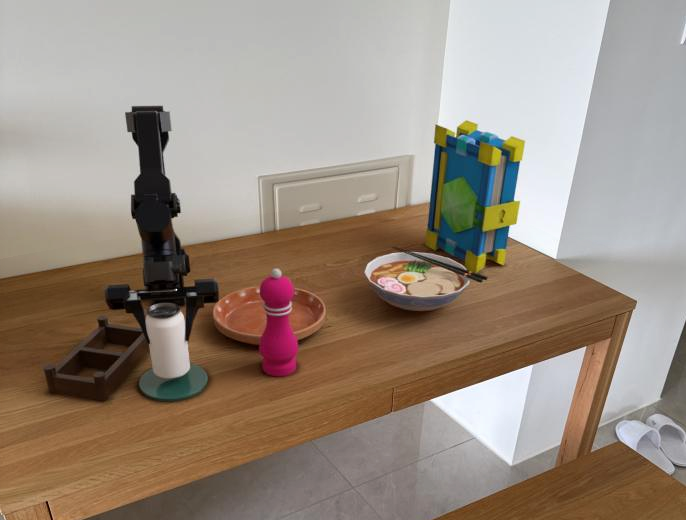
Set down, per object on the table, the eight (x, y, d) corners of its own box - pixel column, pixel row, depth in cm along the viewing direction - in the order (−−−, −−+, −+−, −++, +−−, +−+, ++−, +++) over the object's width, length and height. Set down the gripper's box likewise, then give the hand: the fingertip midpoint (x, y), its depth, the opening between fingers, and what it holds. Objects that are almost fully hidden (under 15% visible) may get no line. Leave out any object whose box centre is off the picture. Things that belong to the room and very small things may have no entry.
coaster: (208, 363, 135) (208, 360, 134) (206, 399, 125) (206, 396, 125) (142, 366, 133) (142, 363, 133) (135, 403, 123) (135, 400, 123)
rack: (104, 337, 141) (100, 314, 139) (156, 344, 140) (153, 322, 137) (47, 393, 125) (41, 368, 122) (105, 402, 123) (100, 377, 121)
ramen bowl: (338, 300, 158) (338, 266, 153) (404, 271, 172) (407, 238, 167) (426, 342, 144) (430, 305, 140) (491, 306, 158) (496, 272, 154)
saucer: (190, 325, 147) (188, 309, 144) (271, 289, 161) (270, 274, 159) (269, 365, 135) (268, 348, 133) (348, 323, 150) (348, 307, 148)
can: (191, 378, 126) (183, 318, 119) (153, 381, 125) (143, 321, 118) (189, 358, 131) (182, 300, 124) (153, 362, 130) (143, 302, 123)
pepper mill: (260, 357, 137) (255, 260, 126) (298, 357, 138) (297, 260, 126) (259, 378, 131) (254, 278, 120) (299, 377, 132) (297, 278, 120)
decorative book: (471, 277, 171) (488, 148, 154) (413, 243, 186) (423, 123, 169) (515, 265, 177) (536, 140, 160) (456, 234, 193) (469, 117, 176)
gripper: (95, 240, 116) (103, 334, 113) (213, 234, 119) (223, 324, 117) (106, 265, 126) (113, 351, 124) (214, 258, 130) (223, 342, 128)
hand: (168, 342), depth 123 cm, fingers closed on can, 6 cm apart
